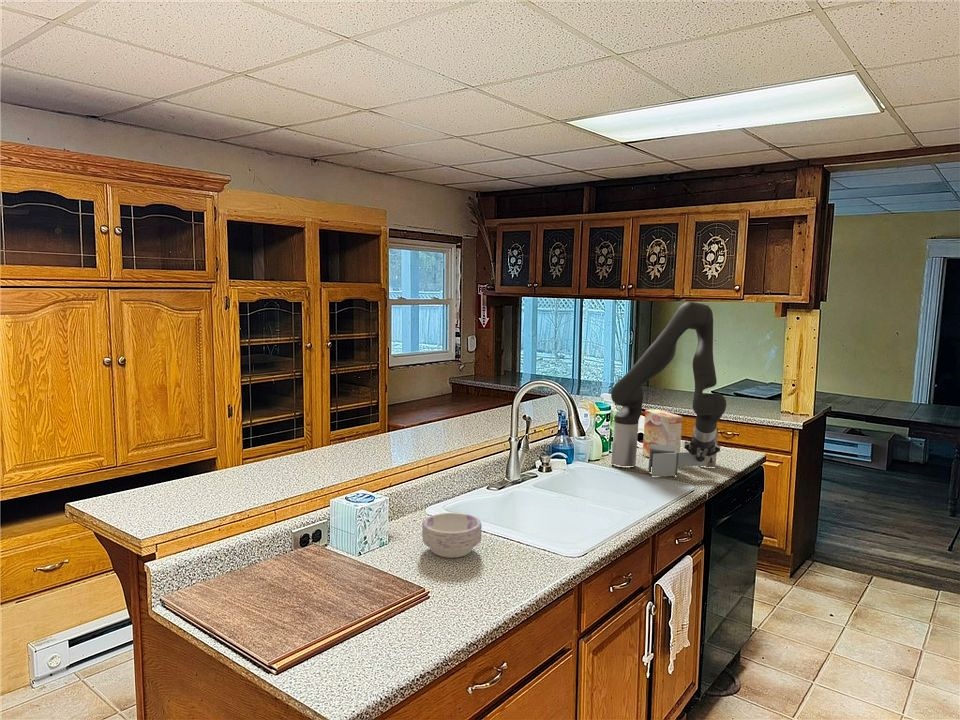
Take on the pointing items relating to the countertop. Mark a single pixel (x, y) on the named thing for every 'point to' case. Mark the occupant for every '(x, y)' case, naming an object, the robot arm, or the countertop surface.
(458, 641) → the countertop surface
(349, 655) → the countertop surface
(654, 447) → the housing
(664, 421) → the coffeecake box
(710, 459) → the coffee box
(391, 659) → the countertop surface
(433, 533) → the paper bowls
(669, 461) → the door
